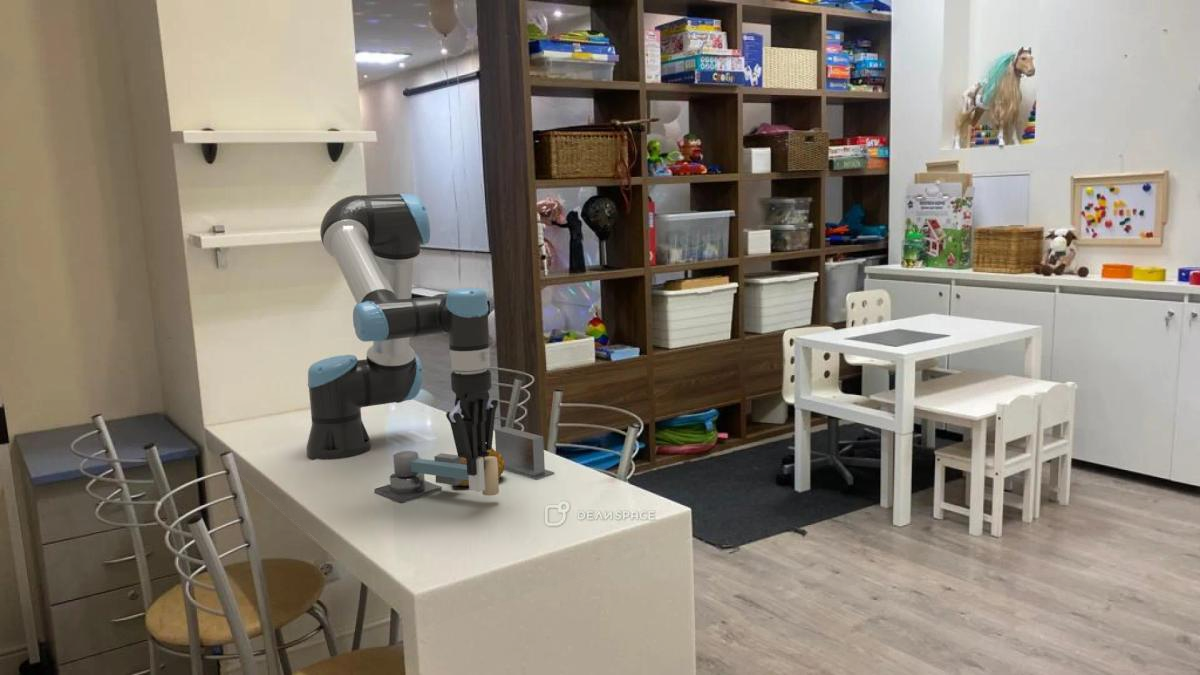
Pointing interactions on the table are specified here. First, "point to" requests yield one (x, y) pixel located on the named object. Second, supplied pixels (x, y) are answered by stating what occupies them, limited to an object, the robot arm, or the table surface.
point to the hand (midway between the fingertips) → (477, 489)
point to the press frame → (512, 444)
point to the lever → (445, 469)
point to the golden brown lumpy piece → (491, 453)
